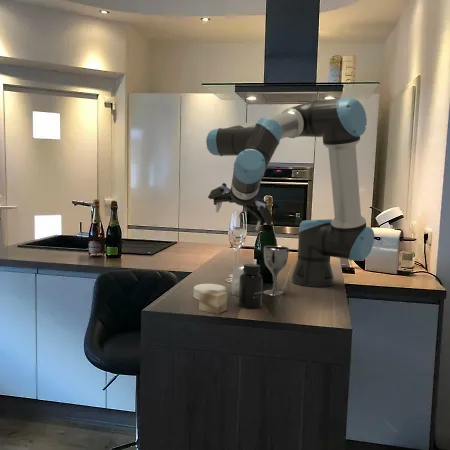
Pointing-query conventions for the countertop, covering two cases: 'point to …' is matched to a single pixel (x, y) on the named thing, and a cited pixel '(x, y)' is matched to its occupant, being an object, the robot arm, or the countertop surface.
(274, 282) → the wine glass
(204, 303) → the maple block
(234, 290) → the frosted glass cup
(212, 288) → the brie cheese wheel
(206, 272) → the countertop surface
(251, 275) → the supplement bottle
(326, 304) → the countertop surface
